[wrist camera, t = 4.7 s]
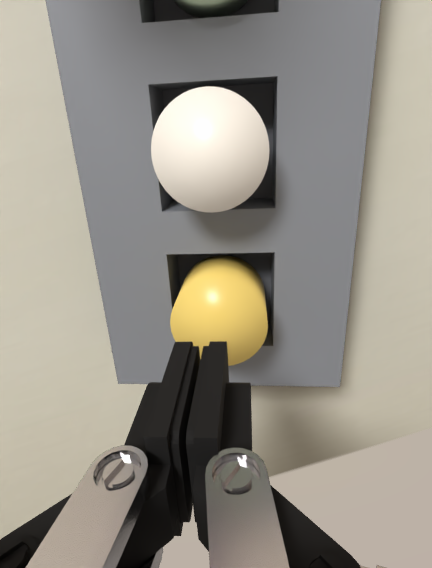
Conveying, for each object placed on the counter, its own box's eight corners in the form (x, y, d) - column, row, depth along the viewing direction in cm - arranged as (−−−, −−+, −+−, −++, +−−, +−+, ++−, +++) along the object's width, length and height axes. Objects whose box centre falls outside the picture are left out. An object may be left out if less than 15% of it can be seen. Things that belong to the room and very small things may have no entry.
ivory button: (265, 195, 17) (268, 211, 14) (173, 198, 17) (157, 214, 14) (266, 90, 15) (270, 82, 12) (164, 96, 15) (144, 90, 12)
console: (326, 349, 22) (339, 386, 19) (135, 348, 24) (118, 383, 20) (375, -226, 13) (417, -341, 10) (51, -182, 14) (-7, -272, 11)
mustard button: (264, 330, 19) (267, 367, 16) (185, 330, 20) (174, 366, 17) (265, 254, 18) (268, 280, 15) (179, 255, 18) (165, 281, 15)
